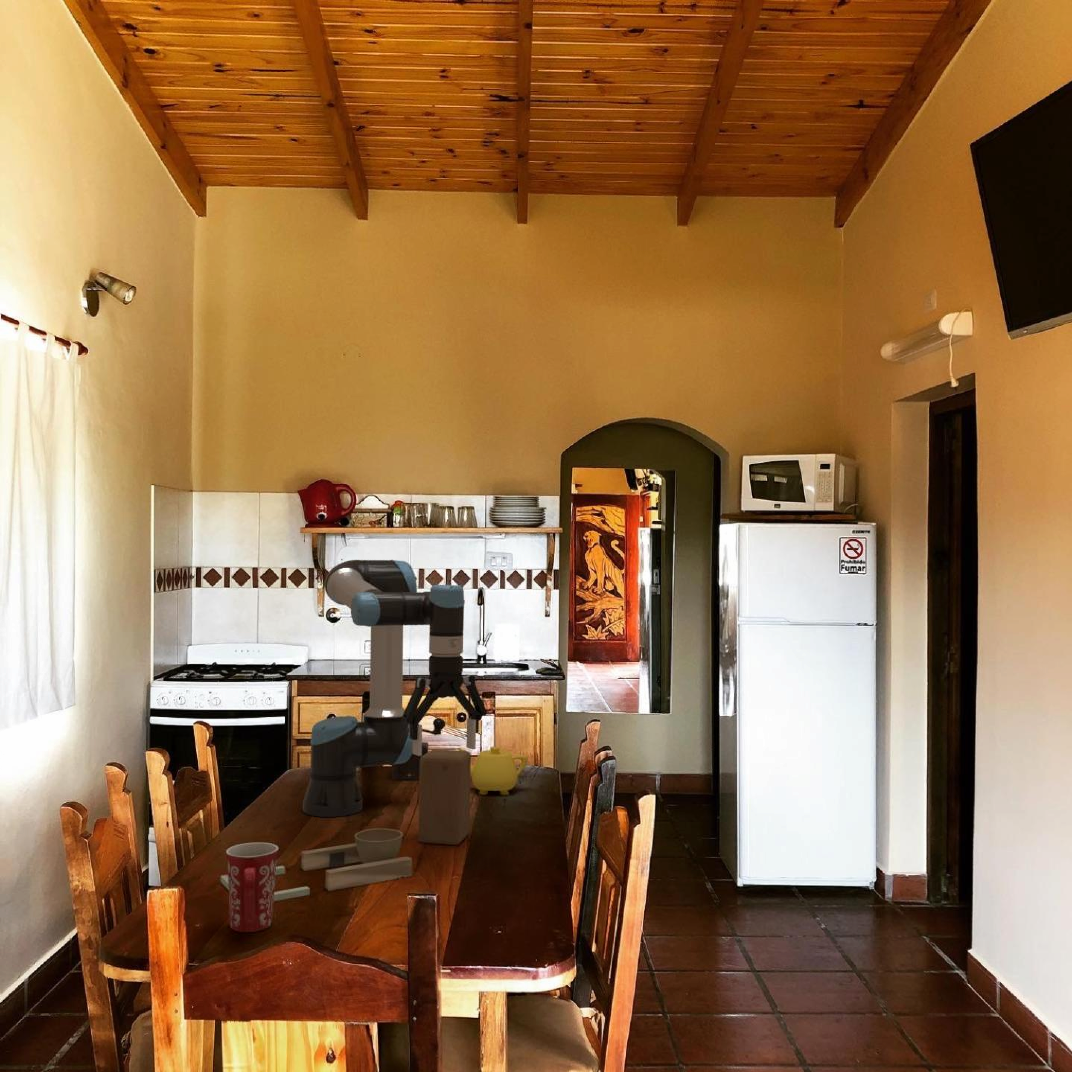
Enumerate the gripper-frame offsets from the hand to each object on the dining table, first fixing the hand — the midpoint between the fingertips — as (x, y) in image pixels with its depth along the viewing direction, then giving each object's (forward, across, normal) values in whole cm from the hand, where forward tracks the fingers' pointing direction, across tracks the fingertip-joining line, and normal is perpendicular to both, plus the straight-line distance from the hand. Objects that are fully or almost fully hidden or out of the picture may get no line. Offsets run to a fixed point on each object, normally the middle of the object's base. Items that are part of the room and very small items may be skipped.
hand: (444, 751), depth 215 cm
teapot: (+23, +41, +45) cm, 65 cm away
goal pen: (+23, -39, +2) cm, 45 cm away
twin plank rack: (+23, -20, +1) cm, 31 cm away
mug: (+24, -49, -17) cm, 57 cm away
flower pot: (+24, -15, +1) cm, 28 cm away
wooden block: (+23, +7, +12) cm, 27 cm away
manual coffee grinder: (+23, +32, +71) cm, 82 cm away
